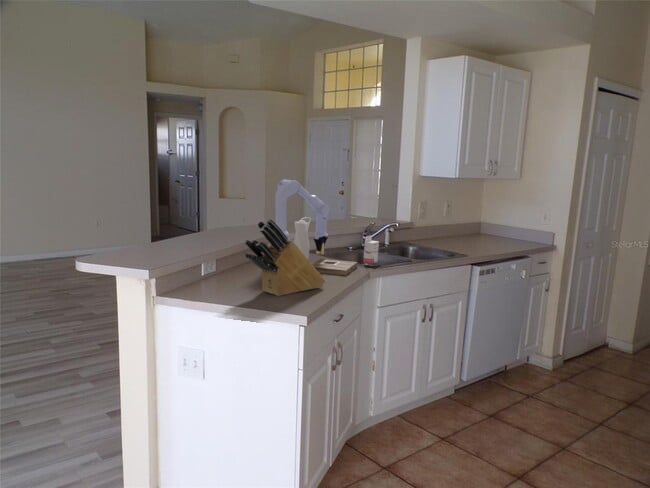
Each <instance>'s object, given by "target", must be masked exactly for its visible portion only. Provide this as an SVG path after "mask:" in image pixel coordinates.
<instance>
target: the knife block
mask: <svg viewBox="0 0 650 488" xmlns="http://www.w3.org/2000/svg"><path fill="white" fill-rule="evenodd" d="M257 226H258V228H259V232H260V233H262V235H263V236H264V238H265V239H266V240H267V241H268V242H269V244H270V245H269V246H268V245H267V244H266V243H264V242H263V241H257V240H252V242H251V241H250V240H248V239H246V240H245V241H244V244H245V245H246V246H247V247H248V248H249V249H250V250H251V252H253V253H254V254H255V255H254V254H249V253H245V254H244V255H245V258H246V259H248V260H250V261H251V262H252V263H253V264H254V265H256V267H258V268H259V269H260V270H261V290H262V291H263V292H265V293H269V294H272V295H274V296H277V297H281V296H284V295H288V294H294V293H297V292H298V293H299V292H303V291H309V290H312V289H318V288H322V287H323V285H324V283H325V282H326V280H325V279H324V277H323V276H322V275H321V273H319V272H318V271H317V270H316V269H315V268H314V266H313V265H312V262H310V259H309V258H308V259H307V258H306V256H305V255H304V254H303V253H302V252H301V250H300V249H299V248H298V247H297V246H296V244H295V243H294V240H291V241H289V240H288V238H287V237H286V235H285V234H284V233H283V232H282V230H281V229H280V228H279V227H278V226H277V225H276V222H274V220H272V219H270V218H269V219H267V220H266V223H264V222H263V221H259V222H258V224H257Z"/></svg>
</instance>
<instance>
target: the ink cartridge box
mask: <svg viewBox="0 0 650 488" xmlns="http://www.w3.org/2000/svg"><path fill="white" fill-rule="evenodd" d="M372 239H373V235H366V236H365V238H364V247H363V264H367V265H373V264H375V263H378V262H379V261H378V260H379V258H378V257H379V248H380V247H379V245H380V241H377V240H372Z"/></svg>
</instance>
